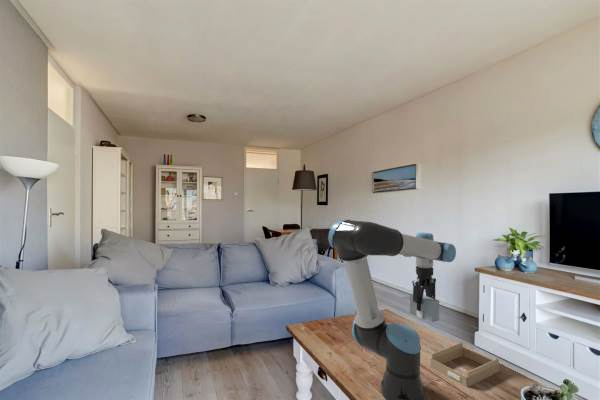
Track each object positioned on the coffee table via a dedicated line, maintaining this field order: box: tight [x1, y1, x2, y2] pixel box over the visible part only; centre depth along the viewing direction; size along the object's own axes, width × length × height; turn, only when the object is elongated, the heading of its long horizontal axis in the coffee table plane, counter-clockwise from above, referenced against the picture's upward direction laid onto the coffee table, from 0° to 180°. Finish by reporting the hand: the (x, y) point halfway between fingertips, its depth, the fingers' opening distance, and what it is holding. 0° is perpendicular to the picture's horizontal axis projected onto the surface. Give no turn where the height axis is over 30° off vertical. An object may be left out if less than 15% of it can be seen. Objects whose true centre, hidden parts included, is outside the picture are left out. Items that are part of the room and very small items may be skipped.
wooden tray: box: [430, 342, 500, 388], centre depth 125 cm, size 22×16×6 cm
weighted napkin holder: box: [409, 293, 440, 323], centre depth 140 cm, size 5×12×9 cm, turn 28°
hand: (424, 316), depth 140 cm, fingers closed on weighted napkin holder, 5 cm apart
